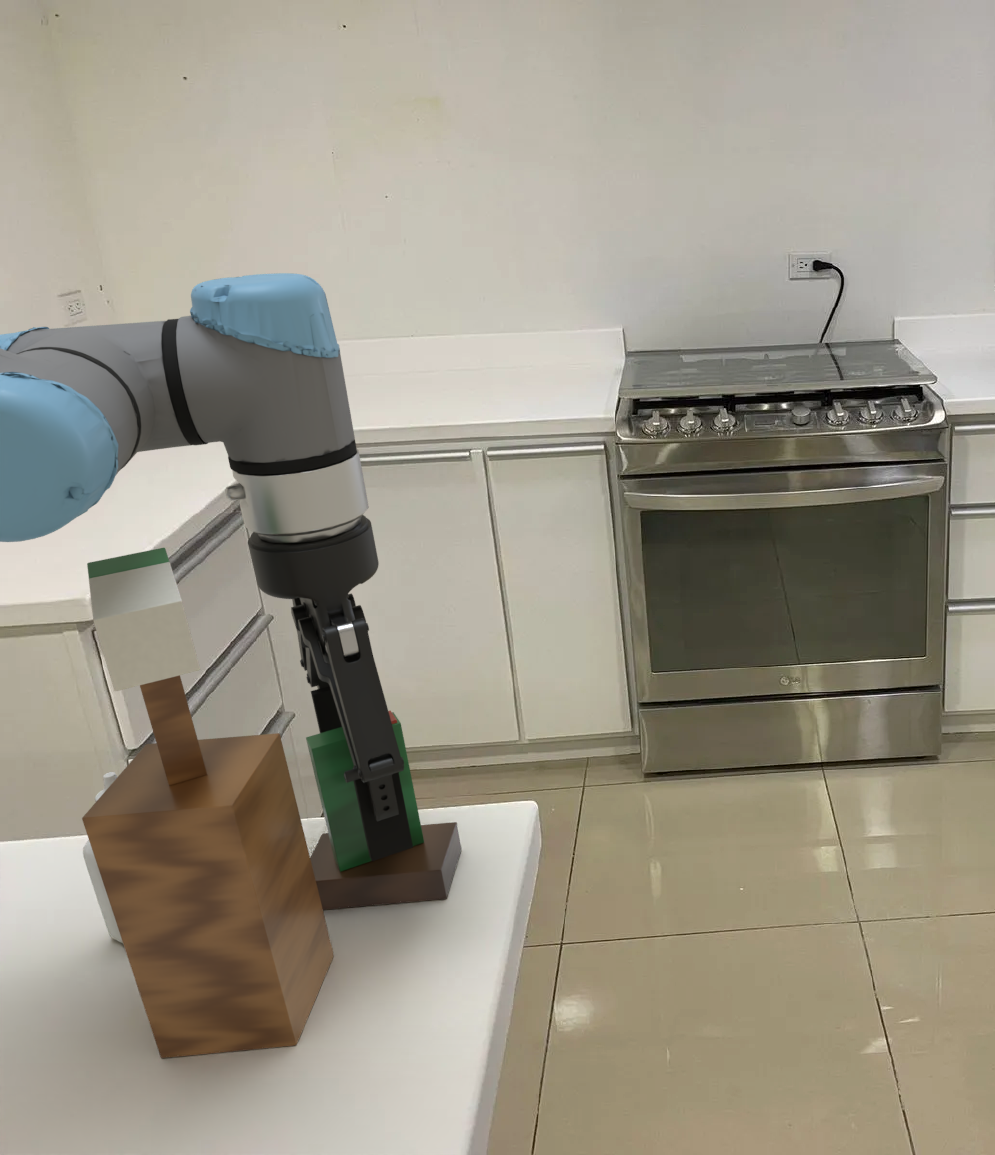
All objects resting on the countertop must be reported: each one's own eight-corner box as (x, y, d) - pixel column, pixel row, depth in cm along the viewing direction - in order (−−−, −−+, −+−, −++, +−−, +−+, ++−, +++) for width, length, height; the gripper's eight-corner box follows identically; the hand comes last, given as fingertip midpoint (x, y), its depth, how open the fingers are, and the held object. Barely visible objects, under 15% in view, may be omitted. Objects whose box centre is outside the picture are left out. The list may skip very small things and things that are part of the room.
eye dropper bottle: (110, 918, 80) (61, 773, 76) (196, 890, 83) (154, 748, 78) (111, 953, 77) (60, 803, 72) (201, 923, 79) (157, 776, 75)
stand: (160, 1058, 67) (37, 686, 58) (212, 966, 75) (110, 623, 65) (296, 1045, 68) (196, 674, 58) (334, 955, 75) (250, 613, 66)
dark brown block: (304, 911, 80) (296, 882, 79) (328, 860, 85) (321, 833, 84) (446, 899, 80) (441, 870, 79) (461, 849, 86) (456, 821, 85)
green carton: (340, 872, 79) (310, 746, 76) (334, 858, 81) (304, 734, 77) (424, 842, 82) (400, 719, 78) (417, 829, 84) (392, 708, 80)
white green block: (200, 670, 59) (182, 600, 57) (114, 692, 57) (93, 620, 56) (181, 609, 67) (164, 546, 65) (105, 627, 65) (86, 562, 64)
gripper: (220, 489, 81) (282, 747, 88) (279, 597, 61) (352, 918, 68) (329, 470, 84) (379, 720, 92) (419, 566, 64) (472, 875, 72)
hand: (367, 805), depth 80 cm, fingers open, 13 cm apart
